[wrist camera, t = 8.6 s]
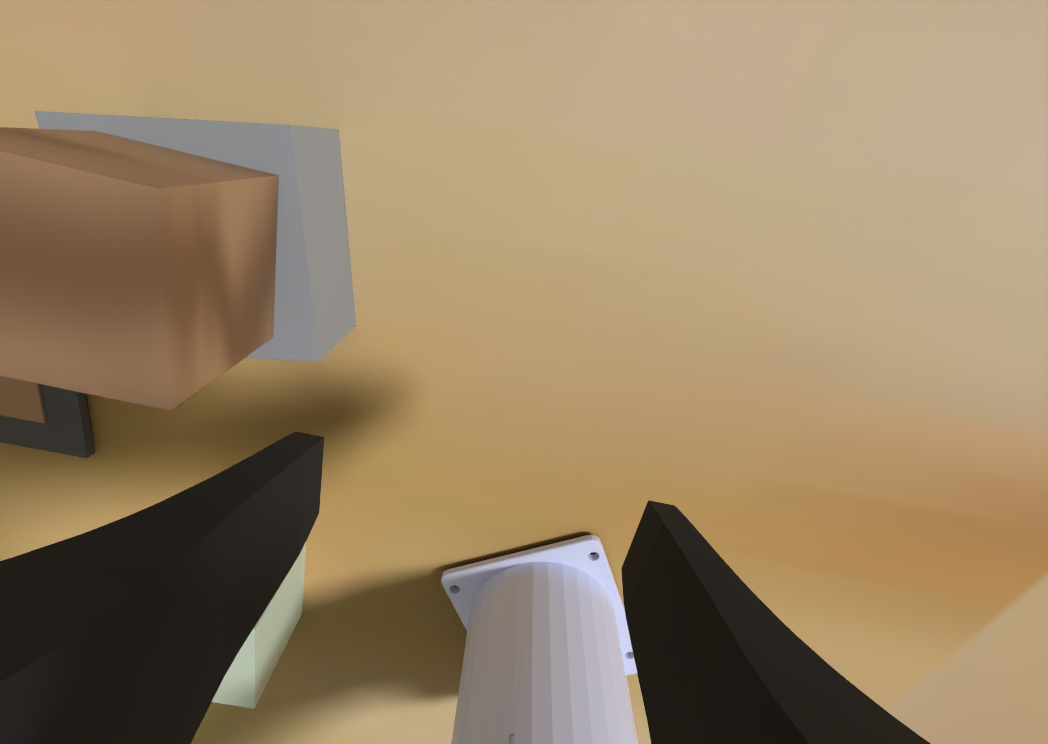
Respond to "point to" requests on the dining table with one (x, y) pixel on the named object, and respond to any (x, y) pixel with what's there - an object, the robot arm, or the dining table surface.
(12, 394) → the card
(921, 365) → the dining table surface
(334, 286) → the slate base
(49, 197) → the walnut block
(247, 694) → the sage block
